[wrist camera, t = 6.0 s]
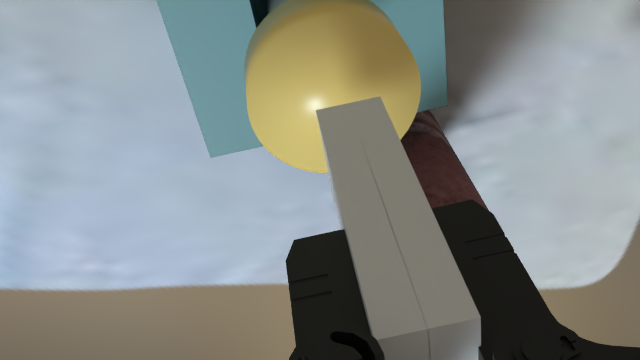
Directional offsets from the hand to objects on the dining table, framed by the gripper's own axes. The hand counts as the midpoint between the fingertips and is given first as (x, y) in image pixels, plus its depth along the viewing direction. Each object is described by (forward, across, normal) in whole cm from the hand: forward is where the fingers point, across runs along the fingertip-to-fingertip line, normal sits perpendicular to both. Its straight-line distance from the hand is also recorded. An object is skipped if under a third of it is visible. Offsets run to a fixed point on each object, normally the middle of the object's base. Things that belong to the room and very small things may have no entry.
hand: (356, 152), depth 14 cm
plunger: (+10, 0, 0) cm, 10 cm away
